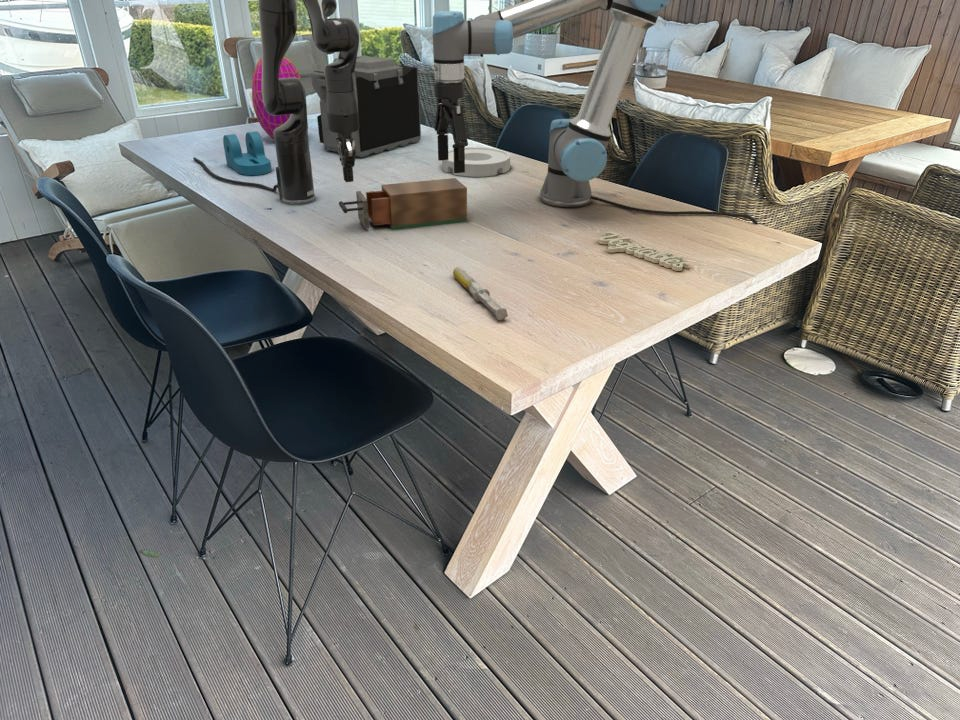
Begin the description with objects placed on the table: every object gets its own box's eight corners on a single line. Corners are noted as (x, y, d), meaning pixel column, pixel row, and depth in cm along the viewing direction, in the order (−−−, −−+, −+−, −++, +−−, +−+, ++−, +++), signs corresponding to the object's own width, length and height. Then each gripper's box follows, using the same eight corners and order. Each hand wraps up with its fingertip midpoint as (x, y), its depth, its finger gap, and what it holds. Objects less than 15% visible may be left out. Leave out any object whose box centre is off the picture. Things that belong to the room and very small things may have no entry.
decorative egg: (293, 132, 276) (283, 50, 261) (319, 140, 264) (310, 56, 249) (249, 139, 265) (236, 54, 250) (273, 148, 253) (261, 60, 238)
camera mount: (227, 164, 233) (221, 132, 227) (257, 160, 238) (252, 129, 233) (244, 176, 220) (239, 143, 215) (276, 172, 225) (271, 139, 220)
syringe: (449, 274, 155) (449, 263, 153) (465, 272, 156) (464, 260, 154) (490, 323, 135) (491, 310, 133) (508, 319, 136) (508, 307, 134)
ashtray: (444, 158, 243) (444, 146, 241) (509, 159, 243) (510, 147, 241) (439, 176, 224) (438, 163, 222) (510, 177, 223) (510, 165, 221)
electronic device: (383, 133, 276) (378, 52, 261) (425, 141, 265) (422, 56, 250) (314, 150, 251) (304, 61, 235) (358, 160, 240) (350, 67, 224)
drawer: (345, 230, 176) (343, 202, 173) (339, 220, 183) (336, 193, 179) (437, 220, 184) (437, 193, 180) (428, 210, 191) (427, 184, 187)
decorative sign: (584, 239, 172) (609, 230, 178) (583, 243, 172) (609, 234, 178) (672, 271, 155) (697, 260, 161) (671, 275, 156) (696, 264, 161)
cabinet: (392, 229, 180) (390, 195, 175) (383, 218, 188) (381, 184, 183) (467, 221, 186) (467, 187, 182) (455, 210, 194) (455, 177, 189)
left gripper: (322, 106, 170) (329, 175, 179) (331, 116, 159) (338, 189, 168) (352, 104, 172) (358, 173, 181) (363, 114, 162) (368, 187, 171)
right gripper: (420, 74, 180) (424, 156, 191) (450, 89, 160) (452, 179, 171) (448, 72, 183) (449, 153, 193) (480, 87, 162) (480, 176, 173)
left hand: (348, 181), depth 175 cm, fingers closed
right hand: (451, 166), depth 182 cm, fingers open, 13 cm apart
